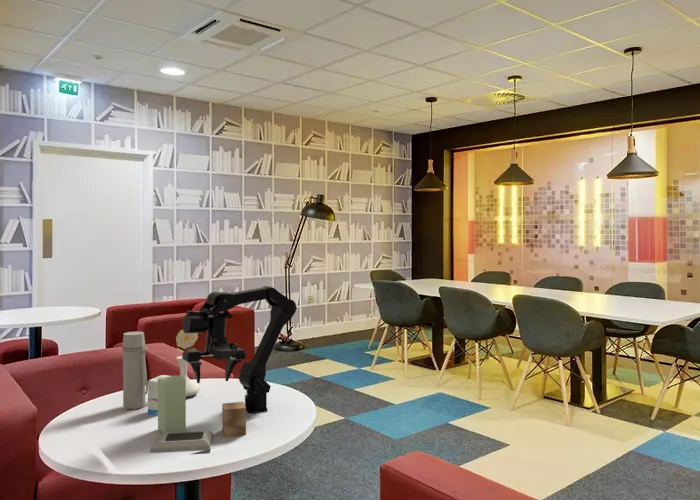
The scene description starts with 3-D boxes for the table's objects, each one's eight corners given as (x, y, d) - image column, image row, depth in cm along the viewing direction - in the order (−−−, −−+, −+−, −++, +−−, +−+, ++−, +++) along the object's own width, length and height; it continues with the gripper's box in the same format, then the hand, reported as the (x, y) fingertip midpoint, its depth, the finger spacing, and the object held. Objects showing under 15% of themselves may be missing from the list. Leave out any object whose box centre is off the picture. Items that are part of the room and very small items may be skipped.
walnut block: (243, 431, 160) (243, 401, 160) (245, 438, 154) (245, 407, 154) (222, 434, 158) (222, 403, 158) (224, 441, 152) (224, 409, 152)
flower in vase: (160, 396, 194) (159, 327, 194) (185, 388, 204) (184, 322, 203) (185, 402, 188) (184, 330, 187) (209, 394, 197) (209, 326, 197)
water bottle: (117, 408, 180) (116, 334, 180) (134, 402, 187) (134, 330, 187) (138, 412, 177) (138, 336, 176) (155, 405, 184) (155, 332, 183)
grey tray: (158, 431, 151) (213, 428, 153) (158, 444, 151) (213, 441, 153) (150, 444, 142) (209, 441, 144) (151, 458, 142) (209, 454, 144)
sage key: (177, 424, 162) (177, 375, 162) (185, 430, 157) (185, 379, 157) (157, 429, 158) (157, 378, 158) (165, 435, 154) (165, 382, 153)
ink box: (161, 419, 171) (161, 381, 170) (146, 417, 172) (146, 380, 171) (175, 410, 179) (175, 375, 179) (161, 409, 180) (161, 374, 180)
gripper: (195, 336, 158) (191, 390, 158) (254, 335, 169) (250, 385, 168) (183, 331, 167) (180, 382, 167) (240, 330, 178) (236, 378, 177)
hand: (212, 382), depth 170 cm, fingers open, 9 cm apart
